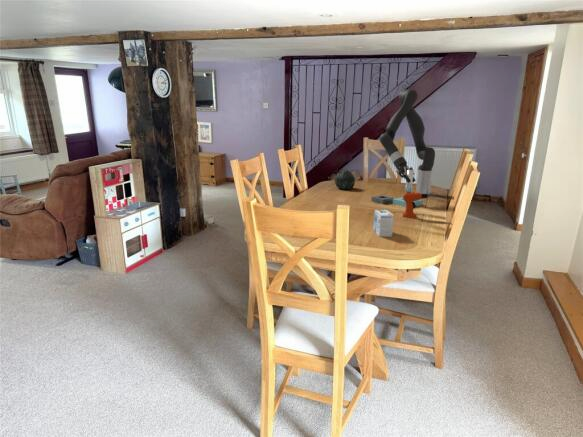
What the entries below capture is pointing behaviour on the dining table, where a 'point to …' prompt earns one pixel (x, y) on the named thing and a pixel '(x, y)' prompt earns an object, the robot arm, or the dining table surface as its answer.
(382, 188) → the dining table surface
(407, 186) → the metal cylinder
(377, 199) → the socket block
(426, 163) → the robot arm
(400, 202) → the block
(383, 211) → the light bulb box
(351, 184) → the squash
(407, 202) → the toy drill
